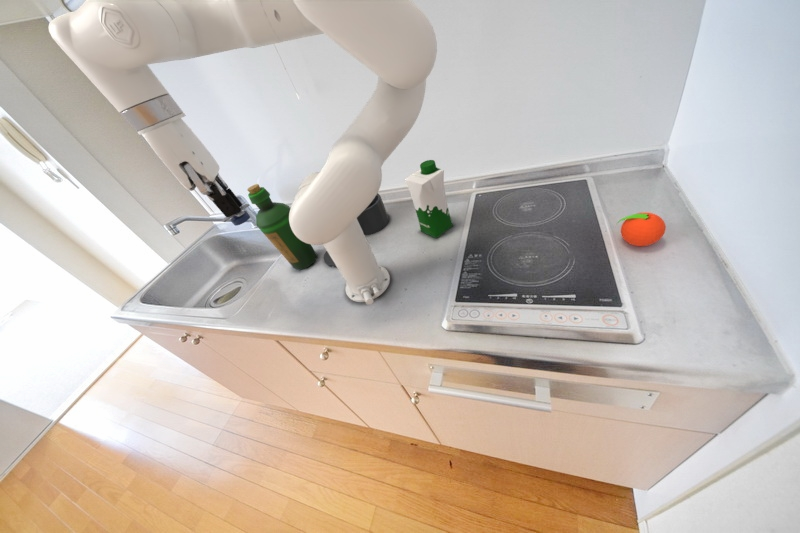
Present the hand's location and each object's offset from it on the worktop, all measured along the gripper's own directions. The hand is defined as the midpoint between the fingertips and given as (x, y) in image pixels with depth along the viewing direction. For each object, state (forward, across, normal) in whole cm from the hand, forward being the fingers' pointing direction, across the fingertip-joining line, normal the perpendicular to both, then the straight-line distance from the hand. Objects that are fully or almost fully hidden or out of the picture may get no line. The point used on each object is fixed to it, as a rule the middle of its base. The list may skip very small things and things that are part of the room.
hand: (234, 210), depth 55 cm
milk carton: (+31, -3, +43) cm, 53 cm away
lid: (+30, -14, +14) cm, 36 cm away
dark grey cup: (+31, -23, +27) cm, 47 cm away
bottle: (+31, -20, +1) cm, 37 cm away
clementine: (+32, +33, +72) cm, 85 cm away
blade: (+2, 0, 0) cm, 2 cm away
